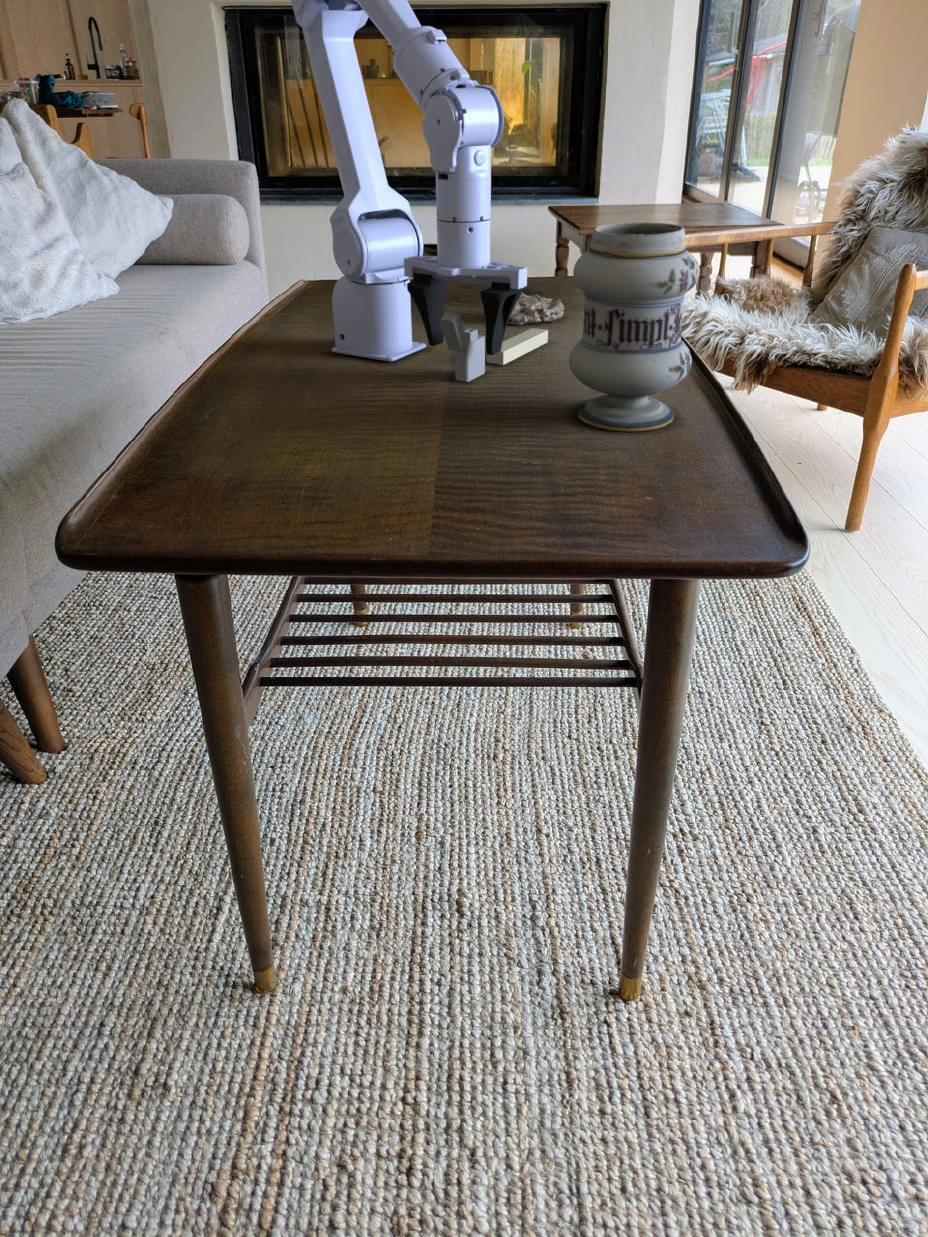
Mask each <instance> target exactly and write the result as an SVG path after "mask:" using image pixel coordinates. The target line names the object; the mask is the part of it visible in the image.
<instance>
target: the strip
mask: <svg viewBox="0 0 928 1237" xmlns="http://www.w3.org/2000/svg"><path fill="white" fill-rule="evenodd" d="M548 343H549V329H543V328H536V327H535V328H534V327H531V328H529V329H526V330H525V331H523V332H521V333H519V334H516V335H514V336H512V337H510V338H508V339H506V340H503V342H502V347H501V351H500V352H498V353H496V354H494V355H487V352H486V351H485V363H488V364H494V365H499V366H504V365H506V364H509V363H510V362H512V361H514V360H516V359H518V358H520V357H522V356H524V355H526V354H528V353H530V352H532V351H534V350H536V349H538V348H540V347H541V346H544V345H545V344H548Z"/></svg>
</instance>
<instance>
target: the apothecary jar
mask: <svg viewBox="0 0 928 1237" xmlns="http://www.w3.org/2000/svg"><path fill="white" fill-rule="evenodd" d="M591 235H592V237H591V242H590V243H589V247H588V249H587V250H586V251H585V252H583V253H582V254H581V255H580V256H579V257H578V259H577V260H576V261H575V264H574V266H573V272H572V273H573V274H572V275H573V280H574V283H575V284H576V286H577V288H579V289H580V290H581V291H582V292H583V293H584V294H583V295H584V301H583V302H584V306H583V307H584V308H583V326H582V328H583V329H582V336H581V337H582V338H581V339H579V341H577V342H576V343H575V345H574V346H573V347H572V348H571V350H570V353H569V356H568V365H569V369H570V371H571V373H572V374H573V376H574V377H575V378H576V379H577V380H578V381H579V382H580V383H581V384H582V385H584V386H586V387H587V388H589V389H591V390H594V391H597V392H599V393H602V395H599V396H596V397H593V398H590V399H587V400H585V401H583V402H582V403H581V404H579V405H578V411H579V412H578V414H577V417H578V418H579V420H581V421H582V422H583V423H584V424H587V425H589V426H592V427H595V428H598V429H602V430H607V431H613V432H624V433H625V432H628V433H629V432H631V433H636V432H645V431H652V430H658V429H661V428H664V427H665V426H667V425H669V424H671V423H672V422H673V420H674V419H675V412H674V411H673V409H672V408H671V407H670V406H668V405H667V404H666V403H664V402H662V401H660V400H658V399H657V398H654V397H652V396H651V395H654V394H657V393H661V392H662V391H665V390H668V389H670V388H672V387H674V386H676V385H677V384H679V383H681V381H682V380H684V379H685V378H686V377H687V376H688V374H689V373H690V371H691V368H692V363H693V358H692V353H691V351H690V349H689V346H687V344H686V343H685V341H683V339H682V331H683V330H682V328H683V313H684V312H683V311H684V303H685V302H684V301H685V294H686V293H688V292H689V291H691V290H692V289H693V288H694V287H695V286H696V284H697V283H698V281H699V278H700V272H701V270H700V264H699V263H698V261H697V260H696V258H695V257H694V255H693V254H691V253H690V252H689V251H688V250H687V243H686V241H685V239H686V238H685V237H686V229H685V228H684V226H681V225H679V224H672V223H666V222H647V221H646V222H645V221H644V222H642V221H634V222H633V221H632V222H630V221H629V222H617V223H615V222H614V223H608V224H603V225H599V226H596V227H595V228H594V229H593V232H592V234H591Z"/></svg>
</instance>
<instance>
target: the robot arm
mask: <svg viewBox="0 0 928 1237" xmlns="http://www.w3.org/2000/svg"><path fill="white" fill-rule="evenodd" d="M290 3H291V6H292V10H293V14H294V17H295V22H296V24H297V25H299V27H301V28H302V34H303V38H304V42H305V46H306V50H307V54H308V58H309V63H310V66H311V70H312V74H313V78H314V82H315V86H316V89H317V94H318V97H319V101H320V106H321V109H322V113H323V117H324V120H325V125H326V129H327V132H328V136H329V140H330V144H331V149H332V152H333V155H334V156H333V157H334V160H335V164H336V168H337V172H338V175H339V179H340V184H341V187H342V191H343V194H344V195H343V197H342V199H341V201H340V202H339V203H338V205H337V206H336V208H335V209H334V210H333V211H332V214H331V215H330V217H329V222H330V226H331V233H332V253H333V257H334V262H335V263H336V266H337V268H338V269H339V271H340V272H341V273H342V274H343V276H341V277H340V278H338V280H337V281H336V282H335V284H334V287H333V290H332V295H331V309H332V319H333V320H332V322H333V330H334V331H333V333H334V345H335V346H334V347H332V348H331V352H332V353H336V354H341V355H348V356H354V357H359V358H367V359H373V360H379V361H385V362H392V363H393V362H395V361H398V360H400V359H403V358H404V357H406V356H410V355H412V354H413V353H417V352H419V351H421V350H423V349H425V348H427V344H426V343H424V342H419V341H413V327H412V303H411V301H412V300H413V302H414V303H415V306H416V308H417V310H418V312H419V315H420V317H421V320H422V323H423V327H424V330H425V335H426V338H427V341H428V345H429V346H430V347H436V346H438V345H440V344H442V343H444V339H445V336H444V333H443V329H442V326H441V323H440V320H441V318H442V317H443V316H444V314H445V305H446V297H447V290H448V286H449V281H452V282H453V281H454V282H463V283H473V284H480V285H490V287H487V288H485V289H483V290H480V292H479V293H480V299H481V303H482V307H483V314H484V321H485V353H486V352H487V355H494V354H496V353H498V352H500V351H501V347H502V342H504V338H505V333H506V330H507V327H508V325H509V324H508V321H509V318H510V316H511V313H512V311H513V309H514V307H515V305H516V303H517V301H518V299H519V297H520V295H521V294H522V293H523V288H527V286H528V267H526V266H519V265H512V264H508V263H503V262H499V261H494V260H491V218H492V216H491V214H492V211H491V210H492V206H491V205H492V204H491V203H492V149H493V148H494V147H496V146H497V144H498V143H499V142H500V139H501V137H502V135H503V130H504V125H505V124H504V121H505V118H504V110H503V106H502V103H501V100H500V98H499V96H498V94H497V92H496V90H495V88H494V87H492V86H490V85H488V84H480V83H479V82H478V81H477V80H472V79H471V77H470V74H469V73H468V71H467V70H466V68H464V66H463V65H462V64H461V62H460V60H459V59H458V58H457V57H456V55H455V53H454V51H452V48H450V46H449V45H448V43H447V40H448V39H447V38H448V37H447V36H446V34H445V33H444V32H443V30H442V29H437V28H435V27H433V26H431V25H421V23H420V21H419V19H418V18H417V16H416V14H415V12H414V10H413V9H412V7H411V5H410V3H409V2H408V0H290ZM368 19H369V20H370V21H371V22H372V23H373V24H374V26H375V27H376V28H377V30H378V31H379V32H380V33H381V35H382V36H383V37H384V38H385V40H386V41H387V42H388V43H389V45H390V46H391V48H393V50H394V52H393V57H392V66H393V70H394V72H395V73H396V75H397V76H398V78H399V79H400V81H401V82H402V84H403V85H404V87H405V88H406V90H407V91H408V93H409V95H410V96H411V97H412V99H413V101H414V102H415V104H416V105H417V107H418V108H419V110H420V111H421V113H422V114H423V116H424V118H423V119H421V130H422V134H423V138H424V140H425V143H426V145H427V147H428V150H429V153H430V154H429V158H430V165H431V169H432V171H433V172H435V197H436V198H435V201H436V204H435V206H436V208H435V209H436V244H437V245H436V246H437V248H436V249H437V251H436V252H437V256H423V254H424V238H423V233H422V231H421V229H420V227H419V225H418V222H417V221H416V219H415V217H414V216H413V213H412V210H411V206H410V202H409V201H408V200H407V199H406V198H405V197H404V196H402V195H401V194H400V193H398V192H397V191H396V190H395V189H393V188H392V187H391V186H390V185H389V182H388V179H387V175H386V170H385V166H384V163H383V158H382V153H381V150H380V146H379V142H378V138H377V134H376V130H375V125H374V122H373V117H372V114H371V108H370V105H369V100H368V98H367V97H368V96H367V93H366V89H365V84H364V80H363V76H362V72H361V68H360V64H359V60H358V56H357V51H356V48H355V43H354V36H355V34H356V32H357V31H359V30H360V29H361V28H363V27H364V26H365V25H366V23H367V21H368ZM410 278H412V279H410ZM411 298H412V299H411Z"/></svg>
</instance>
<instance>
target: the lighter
mask: <svg viewBox="0 0 928 1237" xmlns="http://www.w3.org/2000/svg"><path fill="white" fill-rule="evenodd" d="M440 323H441V326H442V329H443V333H444V339H445V342H446V345H447V348H448V350H449V351H453V352H454V366H455V367H454V368H455V370H454V371H455V381H459V382H465V383H466V382H468V383H469V382H471V381H473V380H475V379H476V378H479V377H480V376H482V375H484V374H485V372H486V335H481V334H478V333H479V332H478V329H477V328H467V329H465V330H464V326H463V323H462V320H461V317H460V314H459V313H457V312H451V311H445V312H444V316H443V317H442V318H441V320H440Z"/></svg>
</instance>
